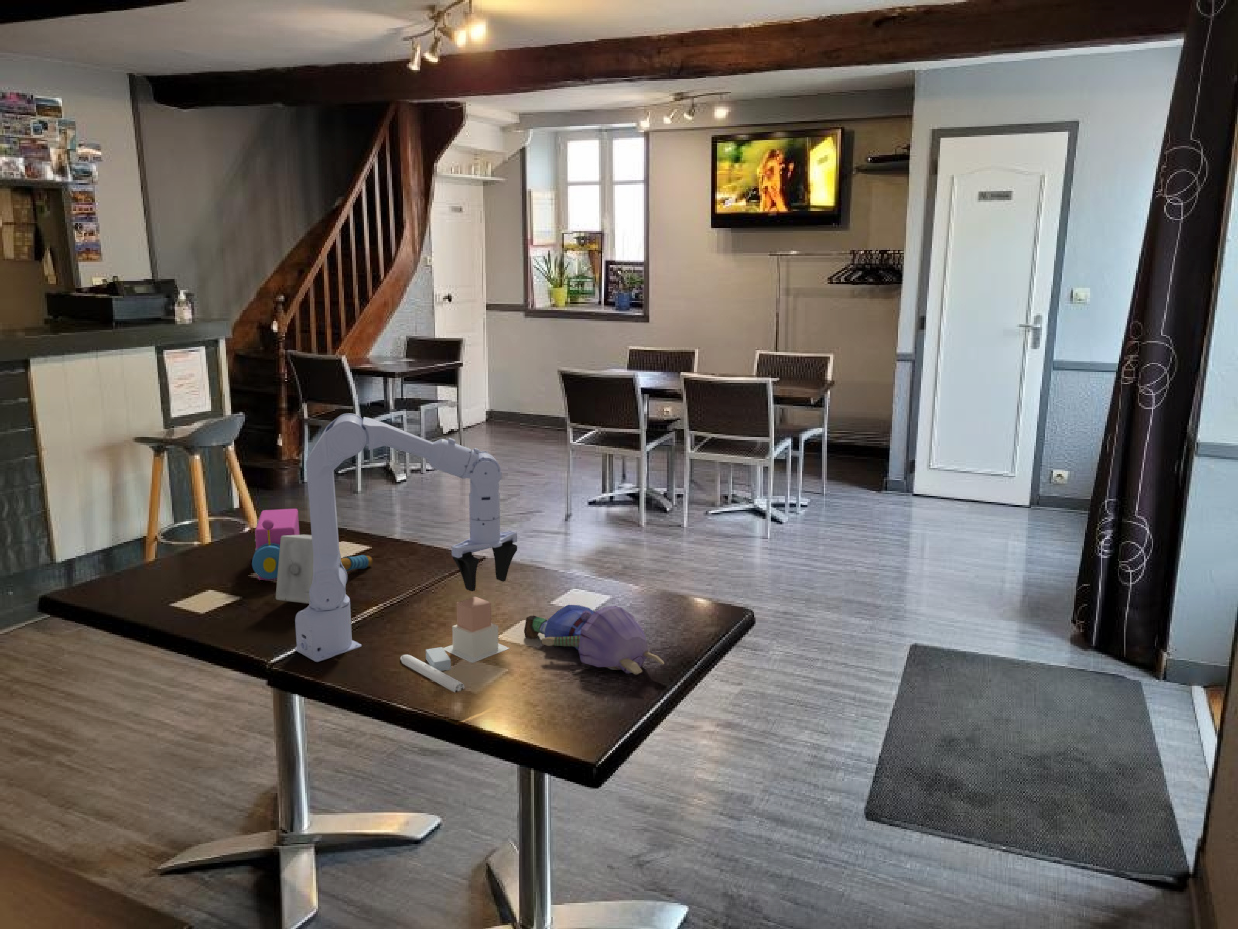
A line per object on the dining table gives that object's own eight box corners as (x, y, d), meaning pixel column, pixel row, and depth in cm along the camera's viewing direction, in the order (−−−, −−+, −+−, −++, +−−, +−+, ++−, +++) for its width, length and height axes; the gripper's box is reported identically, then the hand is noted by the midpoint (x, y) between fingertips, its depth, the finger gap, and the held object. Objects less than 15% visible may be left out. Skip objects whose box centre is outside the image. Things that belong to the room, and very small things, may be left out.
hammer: (349, 587, 218) (272, 600, 189) (354, 531, 219) (278, 535, 190) (380, 591, 216) (308, 604, 187) (385, 534, 217) (313, 539, 188)
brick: (451, 672, 162) (450, 659, 162) (434, 675, 161) (434, 662, 160) (442, 659, 168) (441, 647, 167) (426, 662, 166) (425, 649, 166)
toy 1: (263, 552, 227) (259, 493, 224) (301, 549, 230) (298, 491, 227) (252, 589, 201) (248, 524, 198) (296, 586, 204) (291, 521, 201)
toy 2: (513, 651, 175) (613, 697, 152) (510, 597, 173) (611, 636, 150) (585, 628, 186) (689, 669, 163) (583, 578, 184) (688, 611, 162)
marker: (396, 664, 166) (395, 651, 165) (406, 660, 167) (405, 648, 167) (454, 696, 153) (454, 683, 153) (465, 692, 155) (464, 680, 154)
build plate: (471, 665, 165) (471, 662, 165) (441, 650, 171) (441, 648, 171) (509, 650, 171) (509, 648, 171) (479, 637, 177) (479, 635, 177)
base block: (473, 658, 167) (472, 634, 166) (452, 648, 171) (452, 626, 170) (498, 648, 171) (498, 625, 170) (477, 639, 175) (477, 617, 174)
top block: (472, 632, 167) (471, 608, 166) (457, 625, 170) (456, 602, 169) (491, 625, 170) (491, 602, 169) (476, 619, 173) (475, 596, 172)
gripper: (467, 528, 165) (469, 599, 168) (527, 513, 176) (528, 580, 178) (443, 521, 170) (445, 590, 173) (503, 506, 180) (504, 572, 183)
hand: (485, 584), depth 176 cm, fingers open, 7 cm apart
